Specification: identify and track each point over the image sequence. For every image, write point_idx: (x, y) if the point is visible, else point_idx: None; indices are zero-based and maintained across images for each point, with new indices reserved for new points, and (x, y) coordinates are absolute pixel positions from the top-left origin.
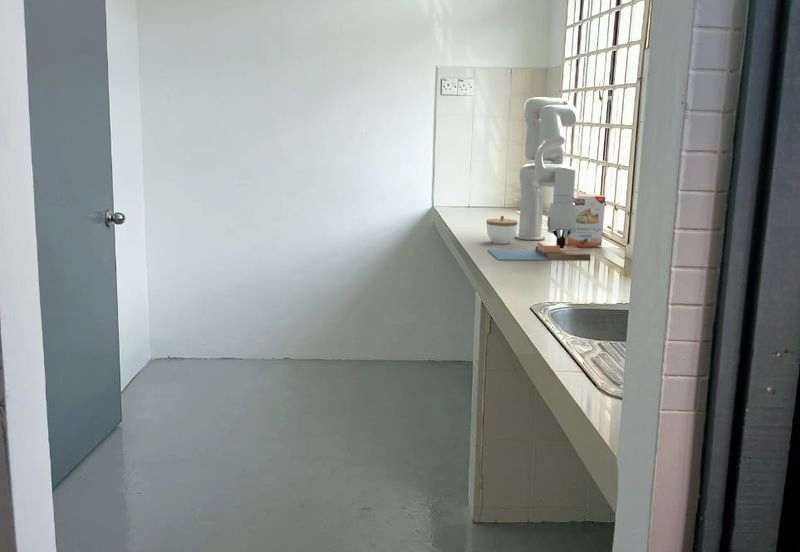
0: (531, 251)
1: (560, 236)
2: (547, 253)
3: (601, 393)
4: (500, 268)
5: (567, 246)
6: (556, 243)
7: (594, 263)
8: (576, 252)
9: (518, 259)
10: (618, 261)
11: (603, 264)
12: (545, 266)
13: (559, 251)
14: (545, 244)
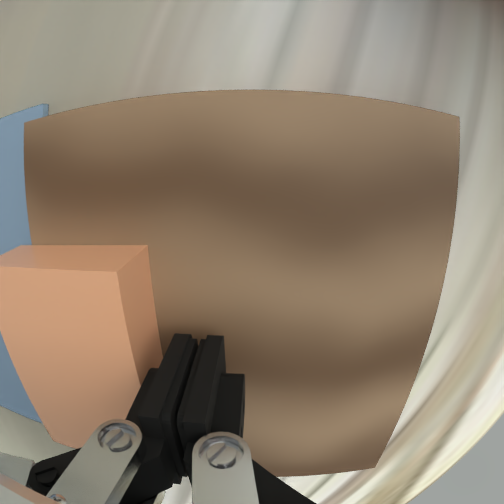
0: (15, 189)
1: (161, 494)
2: None
3: None
4: None
5: (375, 108)
6: (147, 383)
7: (337, 491)
8: (321, 430)
9: (3, 405)
10: (468, 438)
11: (363, 495)
12: None
13: None
14: (51, 405)
